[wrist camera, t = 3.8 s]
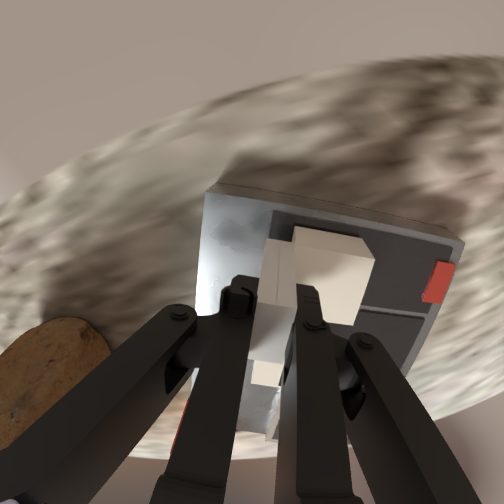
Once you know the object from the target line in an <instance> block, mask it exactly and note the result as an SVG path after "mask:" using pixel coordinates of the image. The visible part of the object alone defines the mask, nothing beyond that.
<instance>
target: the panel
mask: <svg viewBox="0 0 504 504" xmlns="http://www.w3.org/2000/svg"><path fill="white" fill-rule="evenodd" d="M295 226H298V227H303V228H309V229H314V230H320V231H325V232H331V233H336V234H341V235H347V236H352V237H357V238H362V239H363V241H364V242H365V244H366V245H367V247H368V249H369V250H370V252H371V253H372V255H373V257H374V258H375V262H374V265H373V268H372V271H371V274H370V277H369V281H368V284H367V287H366V290H365V293H364V296H363V298H362V301H361V304H360V307H359V310H358V313H357V315H356V318H355V321H354V324H353V326H352V325H344V324H337V323H329V322H327V323H328V324H329V326H330V330H331V332H332V333H333V334H335V335H337V336H340V337H343V338H346V339H349V338H350V335H352V334H353V333H356V332H365V333H369V334H371V335H373V336H374V337H376V338H377V339H378V340H379V341H380V342H381V343H382V345H383V346H384V348H385V349H386V350H387V352H388V353H389V355H390V356H391V358H392V359H393V361H394V362H395V364H396V365H397V367H398V368H399V370H400V371H401V373H402V374H403V376H404V377H406V375H407V373H408V372H409V370H410V368H411V366H412V364H413V363H414V361H415V359H416V357H417V355H418V353H419V351H420V349H421V347H422V345H423V343H424V341H425V339H426V337H427V335H428V333H429V331H430V329H431V327H432V325H433V323H434V321H435V319H436V316H437V314H438V312H439V310H440V307H441V305H442V303H443V301H444V298H445V296H446V293H447V291H448V289H449V286H450V284H451V281H452V279H453V276H454V273H455V271H456V268H457V265H458V263H459V260H460V257H461V254H462V251H463V248H464V246H465V242H463V241H462V240H461V239H460V238H458V237H457V236H456V235H454V234H453V233H452V232H450V231H449V230H448V229H446V228H442V227H438V226H434V225H431V224H427V223H422V222H418V221H414V220H410V219H406V218H402V217H397V216H393V215H389V214H384V213H380V212H375V211H371V210H366V209H362V208H357V207H352V206H347V205H342V204H337V203H332V202H327V201H322V200H317V199H312V198H306V197H301V196H295V195H290V194H284V193H278V192H272V191H266V190H260V189H254V188H248V187H241V186H235V185H228V184H221V183H215V184H214V185H212V186H211V187H210V188H209V189H208V190H207V191H205V198H204V208H203V218H202V228H201V239H200V251H199V263H198V276H197V290H196V305H195V310H196V312H197V316H206V315H212V314H215V313H218V311H219V305H220V296H221V290H222V289H223V288H224V287H226V286H228V285H230V284H231V281H232V278H234V277H235V276H237V275H238V274H240V275H246V276H251V277H257V278H260V272H261V266H262V260H263V254H264V249H265V243H266V238H269V239H275V240H281V241H287V242H292V237H293V232H294V227H295ZM253 364H254V360H252V359H248V360H247V366H246V372H245V378H244V384H243V390H242V396H241V402H240V408H239V414H238V420H237V426H236V430H242V431H248V432H255V433H262V434H266V438H265V441H268V442H276V443H278V437H279V419H280V400H281V388H278V387H271V386H264V385H258V384H251V378H252V371H253ZM198 370H199V368H195V369H194V372H193V373H192V388H193V385H194V382H195V379H196V376H197V373H198ZM346 435H347V433H346ZM347 443H348V447H352V445H351V443H350V440H349V438H348V435H347Z"/></svg>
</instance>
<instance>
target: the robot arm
mask: <svg viewBox="0 0 504 504" xmlns="http://www.w3.org/2000/svg"><path fill="white" fill-rule="evenodd" d="M319 299H320V298H319V292H318V291H317V290H316V289H315V287H314V286H310V285H304V284H298V283H296V275H295V258H294V246H293V243H292V242H287V241H281V240H275V239H269V238H266V243H265V249H264V254H263V260H262V266H261V272H260V278H257V277H251V276H246V275H240V274H238V275H237V276H235V277H234V278H232V281H231V284H230V285H228V286H226V287H224V288H223V289H222V290H221V296H220V305H219V311H218V313H215V314H212V315H206V316H197V312H196V310H195V309H194V308H192V307H190V306H188V305H184V304H172V305H168V306H166V307H165V308H163V309H162V310H161V311H160V312H158V313H157V314H156V315H155V316H154V317H153V318H151V319H150V320H149V321H148V322H147V323H146V324H145V325H143V326H142V327H141V328H140V329H139V330H138V331H137V332H135V333H134V334H133V335H132V336H131V337H130V338H129V339H127V340H126V341H125V342H124V343H123V344H122V345H121V346H119V347H118V348H117V349H116V350H115V351H114V352H113V353H111V354H110V355H109V356H108V357H107V358H106V359H105V360H103V361H102V362H101V363H100V364H99V365H98V366H97V367H96V368H94V369H93V370H92V371H91V372H90V373H89V374H88V375H86V376H85V377H84V378H83V379H82V380H81V381H80V382H79V383H77V384H76V385H75V386H74V387H73V388H72V389H71V390H70V391H69V392H67V393H66V394H65V395H64V396H63V397H62V398H61V399H60V400H58V401H57V402H56V403H55V404H54V405H53V406H52V407H51V408H50V409H48V410H47V411H46V412H45V413H44V414H43V415H42V416H41V417H40V418H39V419H37V420H36V421H35V422H34V423H33V424H32V425H31V426H30V427H29V428H27V429H26V430H25V431H24V432H23V433H22V434H21V435H20V436H19V437H18V438H17V439H15V440H14V441H13V442H12V443H11V444H10V445H9V446H8V447H7V448H4V449H2V450H0V504H88V503H89V502H90V501H91V500H92V498H93V497H94V496H95V495H96V494H97V492H98V491H99V490H100V489H101V487H102V486H103V485H104V484H105V483H106V482H107V480H108V479H109V478H110V477H111V476H112V474H113V473H114V472H115V470H116V469H117V468H118V467H119V466H120V464H121V463H122V462H123V461H124V460H125V458H126V457H127V456H128V455H129V453H130V452H131V451H132V450H133V448H134V447H135V446H136V445H137V443H138V442H139V441H140V440H141V438H142V437H143V436H144V435H145V433H146V432H147V431H148V430H149V428H150V427H151V426H152V425H153V423H154V422H155V421H156V420H157V418H158V417H159V416H160V414H161V413H162V412H163V411H164V409H165V408H166V407H167V406H168V404H169V403H170V402H171V400H172V399H173V398H174V397H175V395H176V394H177V393H178V391H179V390H180V389H181V388H182V386H183V385H184V384H185V382H186V381H187V380H188V379H189V377H190V376H191V375H192V373H193V372H194V369H195V368H199V370H198V373H197V376H196V379H195V382H194V385H193V388H192V391H191V394H190V397H189V400H188V403H187V407H186V410H185V413H184V416H183V419H182V422H181V425H180V428H179V431H178V434H177V437H176V440H175V443H174V446H173V449H172V452H171V455H170V459H169V462H168V465H167V468H166V470H165V472H164V474H162V475H160V477H159V478H158V480H157V483H156V485H155V488H154V491H153V494H152V497H151V500H150V503H149V504H223V502H224V496H225V490H226V483H227V477H228V471H229V466H230V460H231V455H232V449H233V443H234V437H235V431H236V426H237V420H238V414H239V408H240V402H241V396H242V390H243V384H244V378H245V372H246V366H247V360H248V359H252V360H258V361H264V362H271V363H277V364H283V360H284V357H285V360H284V367H283V370H282V374H281V377H280V380H279V384H278V386H281V400H280V419H279V437H278V453H277V468H276V482H275V497H274V504H364V503H363V501H362V499H361V498H360V497H357V496H355V495H354V493H353V490H352V481H351V471H350V462H349V452H348V443H347V435H348V438H349V440H350V443H351V445H352V447H353V450H354V452H355V454H356V457H357V459H358V462H359V464H360V467H361V469H362V471H363V474H364V476H365V479H366V481H367V483H368V486H369V488H370V491H371V493H372V496H373V498H374V501H375V503H376V504H482V503H481V501H480V500H479V498H478V496H477V494H476V492H475V491H474V489H473V487H472V485H471V484H470V482H469V480H468V478H467V477H466V475H465V473H464V471H463V470H462V468H461V467H460V465H459V463H458V461H457V459H456V458H455V456H454V454H453V453H452V451H451V449H450V448H449V446H448V444H447V443H446V441H445V440H444V438H443V436H442V435H441V433H440V432H439V430H438V428H437V427H436V425H435V423H434V422H433V420H432V419H431V417H430V415H429V414H428V412H427V411H426V409H425V408H424V406H423V405H422V403H421V401H420V400H419V398H418V397H417V395H416V394H415V392H414V391H413V389H412V388H411V386H410V385H409V383H408V382H407V380H406V379H405V377H404V376H403V374H402V373H401V371H400V370H399V368H398V367H397V365H396V364H395V362H394V361H393V359H392V358H391V356H390V355H389V353H388V352H387V350H386V349H385V348H384V346H383V345H382V343H381V342H380V341H379V340H378V339H377V338H376V337H374V336H373V335H371V334H369V333H365V332H356V333H353V334H352V335H350V338H349V339H346V338H343V337H340V336H337V335H335V334H333V333H332V332H331V330H330V326H329V324H328V323H327V322H326V321H325V320H323V315H322V309H321V305H320V300H319ZM346 433H347V435H346Z"/></svg>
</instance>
